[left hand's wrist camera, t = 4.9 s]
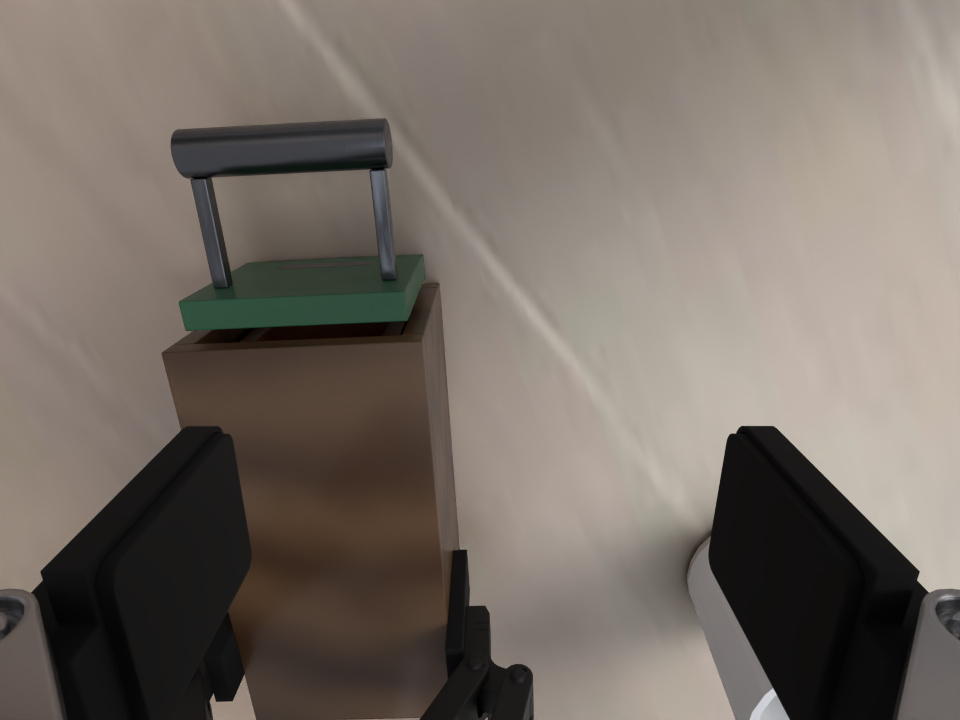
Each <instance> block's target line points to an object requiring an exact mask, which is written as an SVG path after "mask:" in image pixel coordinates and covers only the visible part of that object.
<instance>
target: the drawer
mask: <svg viewBox="0 0 960 720" xmlns="http://www.w3.org/2000/svg"><path fill="white" fill-rule="evenodd" d="M171 152H172V157H173V161H174V163H175V166H176V168H177V170H178V171H179V173H180V174H181V175H182V176H183V177H185V178H188V179H191V185H192V189H193V194H194V199H195V203H196V208H197V212H198V217H199V222H200V226H201V231H202V236H203V240H204V245H205V249H206V254H207V259H208V263H209V268H210V273H211V277H212V282H213V283H211V284H209V285H208V286H206V287H204V288H202V289H200V290H199V291H197V292H195V293H193V294H192V295H190V296H188V297H186V298H185V299H183V300H181V301H179V305H180V309H181V314H182V318H183V322H184V326H185V330H186V331H195V330H218V329H240V328H255V329H254V330H253V331H251V332H250V333H249V334H248V335H247V336H246V337H245V338H243V339H242V340H241V341H240V342H258V341H281V340H303V339H326V338H349V337H372V336H395V335H402V334H403V332H404V329H405V327H406V324H407V322H408V319H409V317H410V314H411V311H412V309H413V306H414V304H415V301H416V299H417V296H418V294H419V291H420V289H421V286H422V284H423V282H424V279H425V270H424V258H423V255H422V254H420V255H399V256H396V254H395V244H394V234H393V224H392V214H391V204H390V194H389V184H388V174H387V169H388V168H391V167H392V162H393V150H392V139H391V132H390V127H389V123H388V121H387V119H385V118H383V119H364V120H345V121H326V122H308V123H289V124H270V125H251V126H233V127H214V128H195V129H178V130H176V131H174V133H173V134H172V137H171ZM368 169H372V170H370V180H371V189H372V198H373V207H374V216H375V225H376V234H377V243H378V252H379V256H378V257H357V258H335V259H314V260H293V261H272V262H251V263H246V264H245V265H243V266H241V267H239V268H238V269H236V270H234V271H232V272H230V267H229V262H228V257H227V252H226V247H225V242H224V237H223V232H222V227H221V222H220V217H219V213H218V208H217V203H216V198H215V193H214V188H213V183H212V178H211V177H231V176H250V175H270V174H290V173H309V172H329V171H348V170H368ZM192 178H194V179H192Z"/></svg>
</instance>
